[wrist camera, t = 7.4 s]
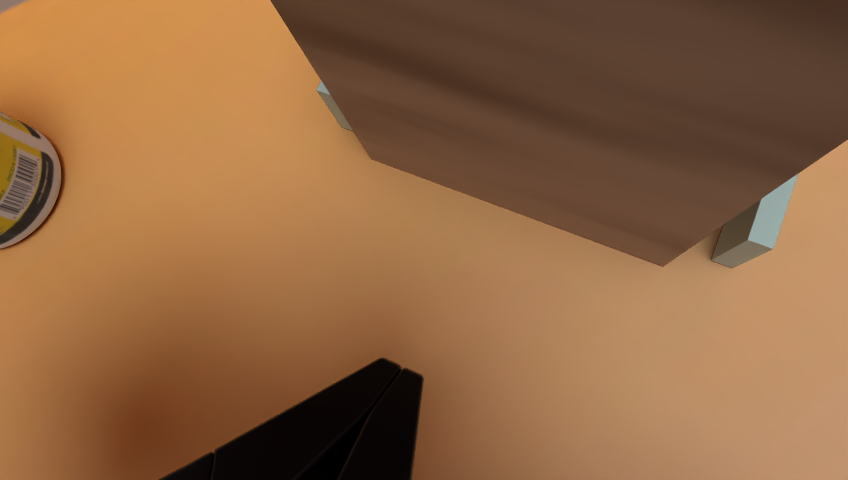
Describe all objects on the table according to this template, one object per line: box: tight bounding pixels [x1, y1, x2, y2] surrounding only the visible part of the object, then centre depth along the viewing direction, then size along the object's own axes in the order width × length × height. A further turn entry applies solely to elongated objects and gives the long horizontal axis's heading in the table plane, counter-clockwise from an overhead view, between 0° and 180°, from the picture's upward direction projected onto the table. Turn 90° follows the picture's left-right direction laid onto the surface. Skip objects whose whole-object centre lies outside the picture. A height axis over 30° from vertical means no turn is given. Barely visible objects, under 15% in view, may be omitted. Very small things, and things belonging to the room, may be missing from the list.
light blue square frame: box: [317, 81, 798, 268], centre depth 17 cm, size 10×13×2 cm
